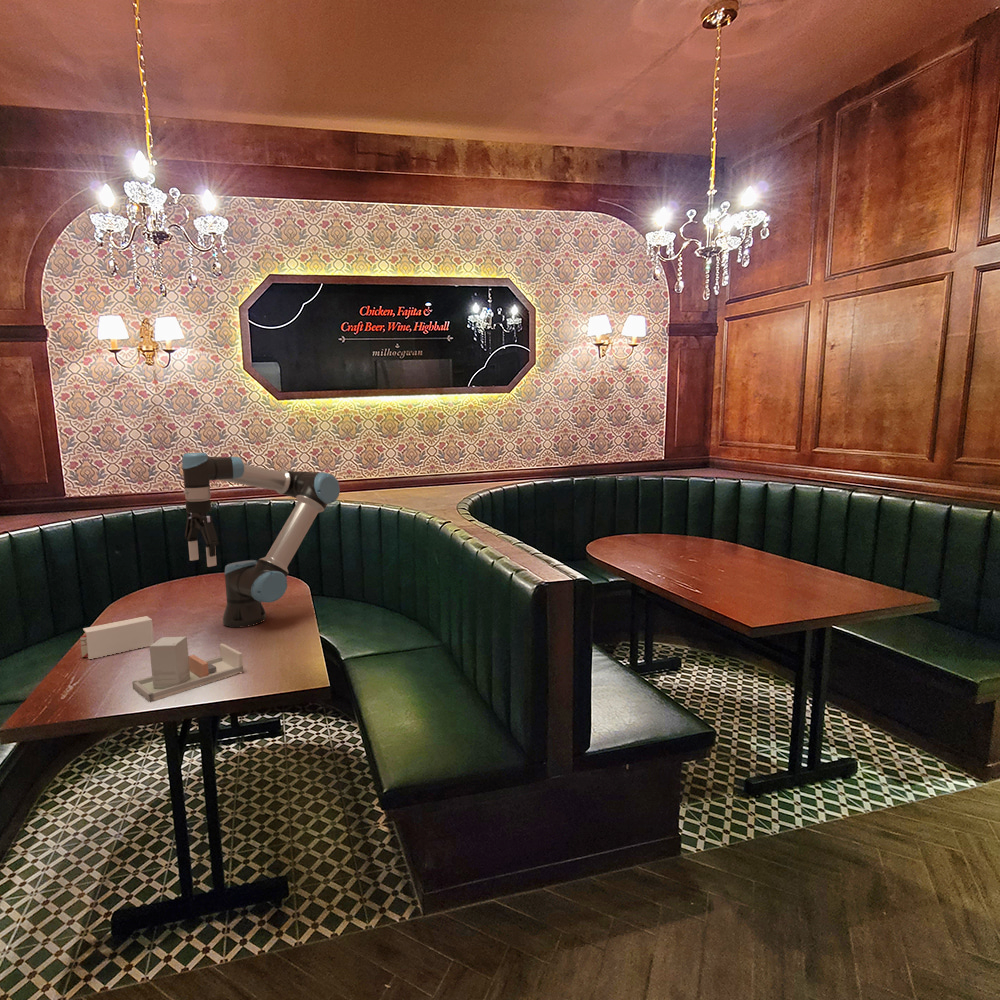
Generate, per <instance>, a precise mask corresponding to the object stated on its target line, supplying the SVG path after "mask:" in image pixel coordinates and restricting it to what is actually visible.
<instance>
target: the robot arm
mask: <svg viewBox="0 0 1000 1000" xmlns="http://www.w3.org/2000/svg"><path fill="white" fill-rule="evenodd" d="M181 460H182V461H181V462H182V463H181V465H182V466H181V468H182V474H183V485H184V491H183V494H184V497H185V498H184V499H185V500H186V501H185V510H186V523H185V524H186V525H185V531H184V539H185V540H186V541H187V543H188V544H187V545H188V555H189V561H198V560H199V556H200V555H199V545H198V544H199V543H198V540H199V538H198V534H199V532H201V534H202V536H203V539H204V542H205V544H206V545H205V546H204V547H205V552H206V554H205V555H206V567H208V568H211V567H215V566H217V555H216V553H217V552H216V547H217V546H218V545H219V539H218V535H217V532H216V529H215V525H214V522H213V521H214V520H213V515H208V512H211V511H212V500H211V498H212V497H211V495H212V494H211V485H210V483H211V482H212V481H222V482H228V483H233V484H239V485H243V486H249V487H254V488H255V487H256V488H260V489H266V490H272V491H275V492H276V493H277V494H279V495H284V496H288V497H291V498H295V499H296V505H294V507H293V509H292V511H291V513H290V515H289V516H288V517H287V519H286V521H285V523H284V525H283V526H282V529H281V530H280V531H279V533H278V535H277V536H276V538H275V540H274V541H273V543H272V545H271V547H270V549H269V551H268V552H267V554H266V556H264V557H261V558H259V559H258V560H256V559H255V560H254V559H250V560H242V561H236V562H232V563H231V562H230V563H228V564H227V565H225V566H224V574H223V576H224V580H225V594H226V606H225V609H224V613H223V616H222V624H224V625H226V626H225V627H227V626H231V627H230V628H233V627H239V628H241V627H240V626H248V625H253V624H256V623H259V622H261V621H263V620H265V619H266V620H267V613H266V610H265V608H264V606H263V603H268V604H269V603H274V602H277V601H278V600H279V599H281V598H282V597H283V596H284V594H285V593H286V591H287V589H288V578H287V577H288V575H289V570H288V567H289V564H290V563H291V562H292V559H293V558H294V556H295V555H296V553H297V551H298V549H299V547H300V546H301V544H302V542H303V540H304V538H305V537H306V535H307V533H308V532H309V529H310V528H311V526H312V525H313V523H314V520H315V519H316V517H317V515H318V514H319V513H323V512H324V511H325V509H326V508H327V506H328V504H332V503H335V502H336V501H337V499H338V498H339V496H340V494H341V493H340V492H341V490H340V489H341V487H340V483H339V480H338V479H337V477H336V476H335V475H334V474H331V473H327V472H324V471H321V472H318V471H316V472H315V471H305V470H304V471H294V470H285V469H281V471H279V470H274V469H270V468H269V469H268V468H266V467H265V468H263V467H259V466H255V465H250V464H245V463H244V461H243V460H242V458H240V457H239V456H232V455H231V456H208V454H207V453H206V452H187V453H184V454H183V455H182V458H181ZM210 481H211V482H210ZM266 620H265V621H266ZM224 625H223V626H224ZM253 626H254V625H253ZM248 627H249V626H248Z"/></svg>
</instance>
